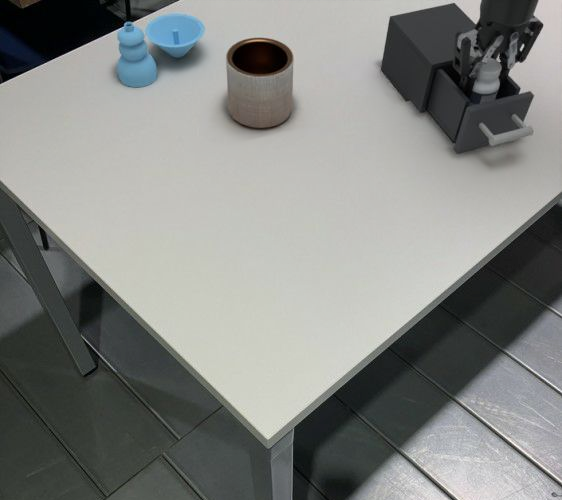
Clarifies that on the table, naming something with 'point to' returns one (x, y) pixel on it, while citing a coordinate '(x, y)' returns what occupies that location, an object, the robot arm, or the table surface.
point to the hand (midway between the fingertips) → (480, 91)
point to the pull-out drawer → (477, 112)
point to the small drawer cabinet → (422, 48)
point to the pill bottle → (486, 83)
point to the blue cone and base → (164, 33)
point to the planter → (259, 82)
